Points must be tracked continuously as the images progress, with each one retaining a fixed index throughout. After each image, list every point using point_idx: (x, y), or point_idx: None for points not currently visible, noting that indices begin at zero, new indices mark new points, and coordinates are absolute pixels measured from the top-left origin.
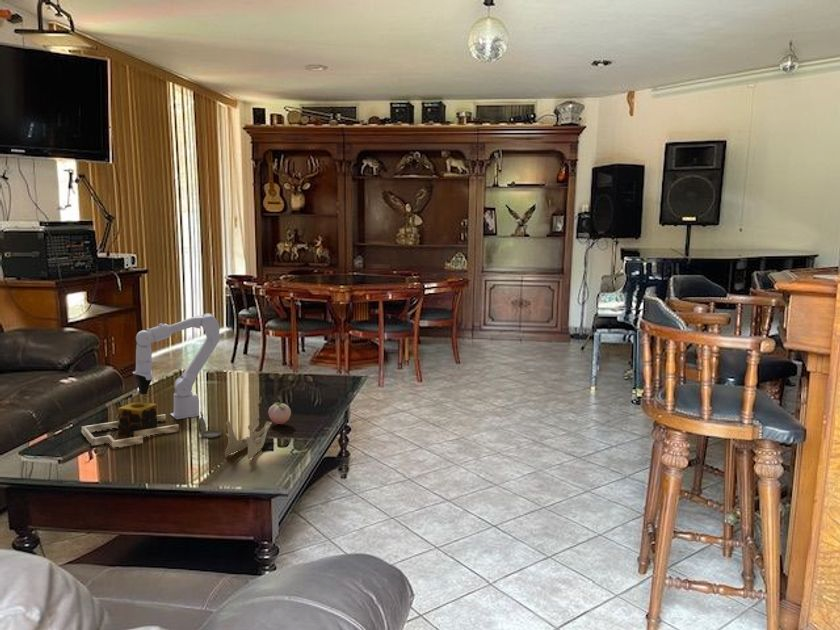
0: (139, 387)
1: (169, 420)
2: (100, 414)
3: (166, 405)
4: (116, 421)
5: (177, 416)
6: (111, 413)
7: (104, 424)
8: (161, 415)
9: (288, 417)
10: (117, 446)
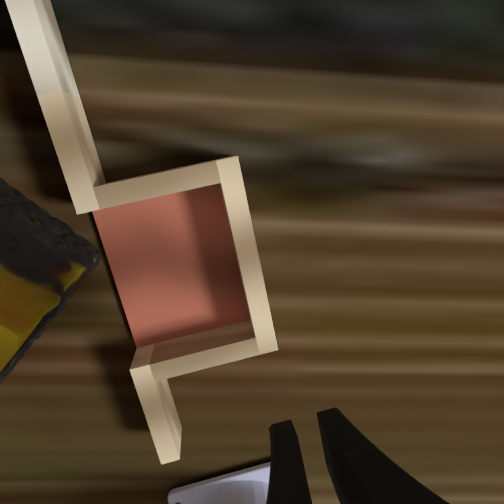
0: (351, 472)
1: None
2: (477, 22)
3: (488, 436)
4: (63, 115)
5: (201, 501)
6: (467, 106)
7: (7, 1)
8: (154, 440)
9: None
10: None
